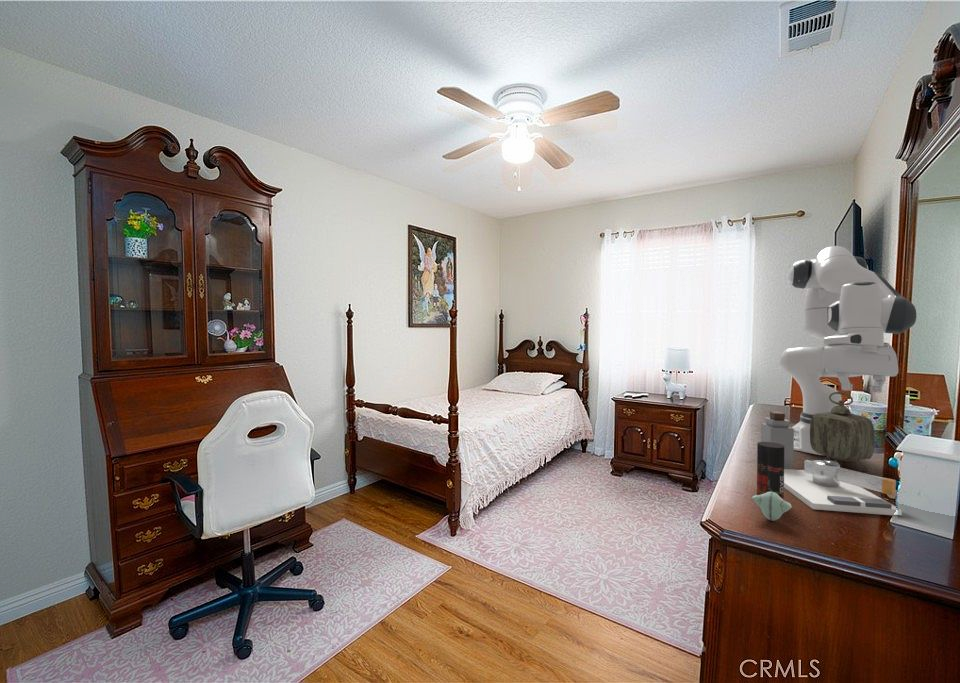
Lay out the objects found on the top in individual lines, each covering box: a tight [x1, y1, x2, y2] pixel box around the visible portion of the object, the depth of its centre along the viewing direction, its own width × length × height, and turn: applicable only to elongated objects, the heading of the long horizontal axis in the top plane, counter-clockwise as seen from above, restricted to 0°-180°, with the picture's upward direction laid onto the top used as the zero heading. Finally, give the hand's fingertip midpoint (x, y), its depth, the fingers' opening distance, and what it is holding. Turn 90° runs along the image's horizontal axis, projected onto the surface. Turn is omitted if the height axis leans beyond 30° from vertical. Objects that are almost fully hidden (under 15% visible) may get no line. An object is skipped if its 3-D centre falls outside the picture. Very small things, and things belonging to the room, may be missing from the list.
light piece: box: [803, 459, 897, 496], centre depth 115 cm, size 20×6×6 cm, turn 27°
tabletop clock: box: [810, 391, 876, 473], centre depth 137 cm, size 14×9×25 cm, turn 17°
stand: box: [784, 469, 897, 516], centre depth 118 cm, size 28×19×3 cm
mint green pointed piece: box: [751, 492, 792, 522], centre depth 100 cm, size 8×4×7 cm, turn 47°
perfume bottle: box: [760, 411, 795, 470], centre depth 139 cm, size 7×7×18 cm
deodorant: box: [756, 441, 785, 501], centre depth 111 cm, size 6×6×15 cm
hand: (861, 391), depth 112 cm, fingers open, 8 cm apart
